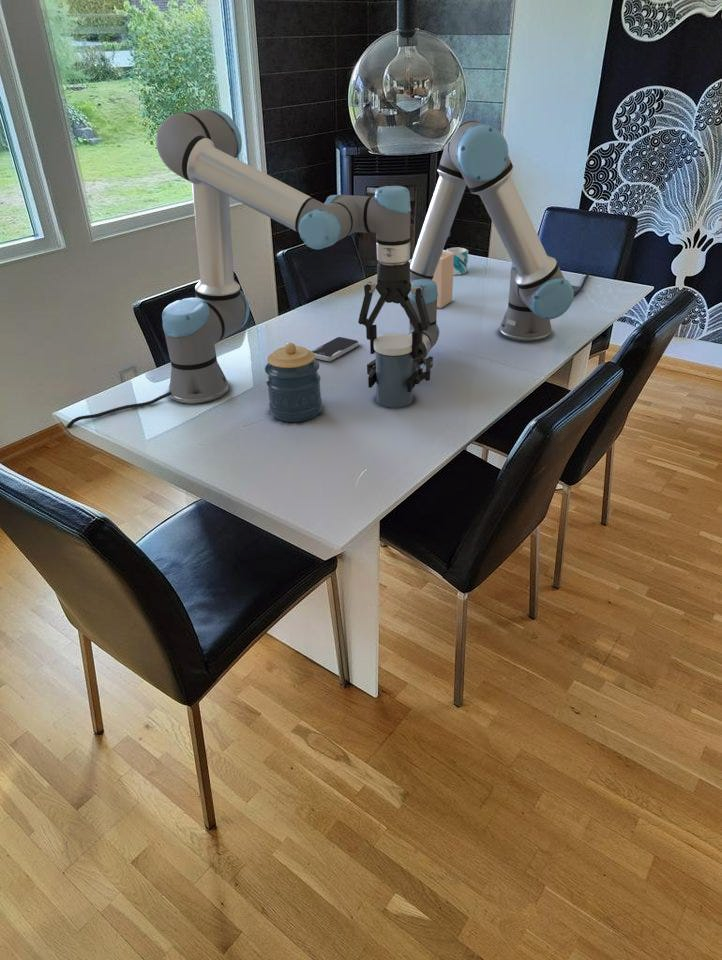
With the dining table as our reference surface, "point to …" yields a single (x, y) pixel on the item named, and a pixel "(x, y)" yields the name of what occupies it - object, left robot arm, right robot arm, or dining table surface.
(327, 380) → the dining table surface
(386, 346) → the lid
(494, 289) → the dining table surface
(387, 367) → the jar
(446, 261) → the soap dispenser
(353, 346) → the smartphone
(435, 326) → the right robot arm
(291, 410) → the canister
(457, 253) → the mug
